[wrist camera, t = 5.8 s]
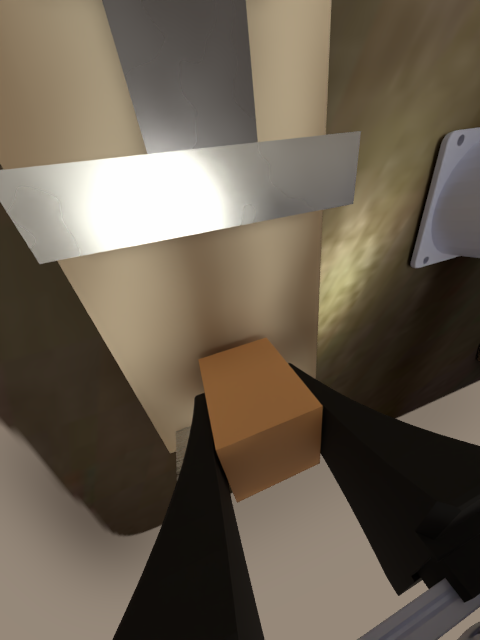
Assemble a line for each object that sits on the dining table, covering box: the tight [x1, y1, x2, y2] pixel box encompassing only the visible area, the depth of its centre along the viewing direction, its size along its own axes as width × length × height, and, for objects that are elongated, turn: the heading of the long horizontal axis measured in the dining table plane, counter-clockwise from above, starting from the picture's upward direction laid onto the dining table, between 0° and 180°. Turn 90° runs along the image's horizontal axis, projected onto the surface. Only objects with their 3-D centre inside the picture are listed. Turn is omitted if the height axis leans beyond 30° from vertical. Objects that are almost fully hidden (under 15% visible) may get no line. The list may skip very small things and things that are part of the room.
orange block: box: [198, 337, 323, 502], centre depth 10 cm, size 4×4×5 cm
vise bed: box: [0, 0, 331, 453], centre depth 11 cm, size 12×23×2 cm, turn 9°
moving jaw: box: [0, 0, 361, 264], centre depth 6 cm, size 10×8×3 cm
